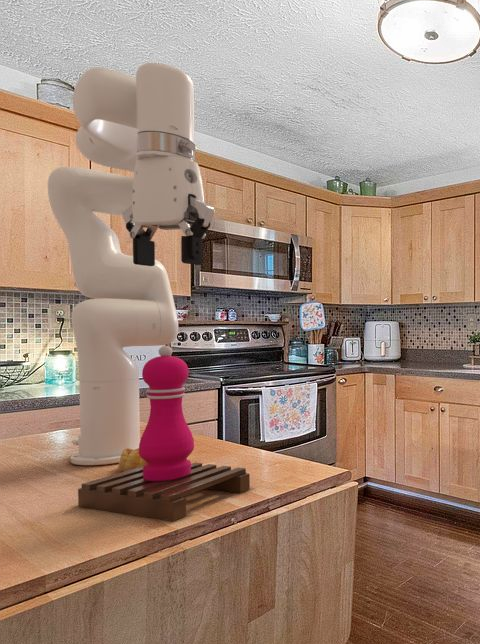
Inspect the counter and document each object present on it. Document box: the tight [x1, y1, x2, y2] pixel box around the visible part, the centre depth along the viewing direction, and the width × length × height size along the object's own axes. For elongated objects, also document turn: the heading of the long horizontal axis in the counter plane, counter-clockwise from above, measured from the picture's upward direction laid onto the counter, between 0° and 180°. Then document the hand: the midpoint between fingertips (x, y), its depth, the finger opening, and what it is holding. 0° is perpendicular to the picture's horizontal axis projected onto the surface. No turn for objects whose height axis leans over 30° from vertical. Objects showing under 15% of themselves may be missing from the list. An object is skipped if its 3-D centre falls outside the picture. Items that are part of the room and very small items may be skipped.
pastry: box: [117, 448, 147, 472], centre depth 92 cm, size 9×7×4 cm
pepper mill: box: [139, 345, 195, 481], centre depth 76 cm, size 7×7×20 cm
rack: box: [77, 462, 251, 522], centre depth 76 cm, size 18×14×3 cm
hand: (167, 264), depth 77 cm, fingers open, 9 cm apart
